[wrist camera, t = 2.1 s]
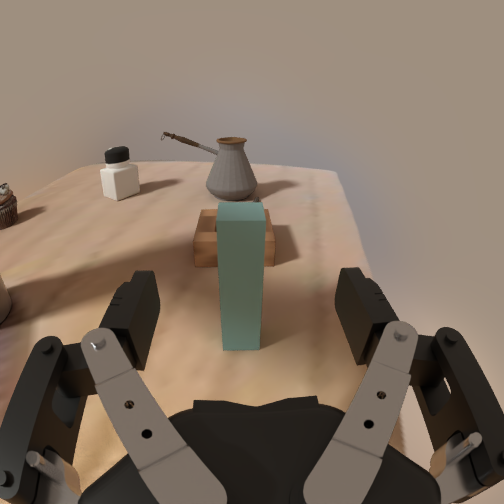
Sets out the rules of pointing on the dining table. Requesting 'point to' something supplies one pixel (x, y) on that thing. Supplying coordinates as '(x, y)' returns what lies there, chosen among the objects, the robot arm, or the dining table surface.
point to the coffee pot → (227, 169)
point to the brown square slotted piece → (208, 240)
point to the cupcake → (7, 207)
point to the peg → (241, 272)
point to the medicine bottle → (119, 174)
